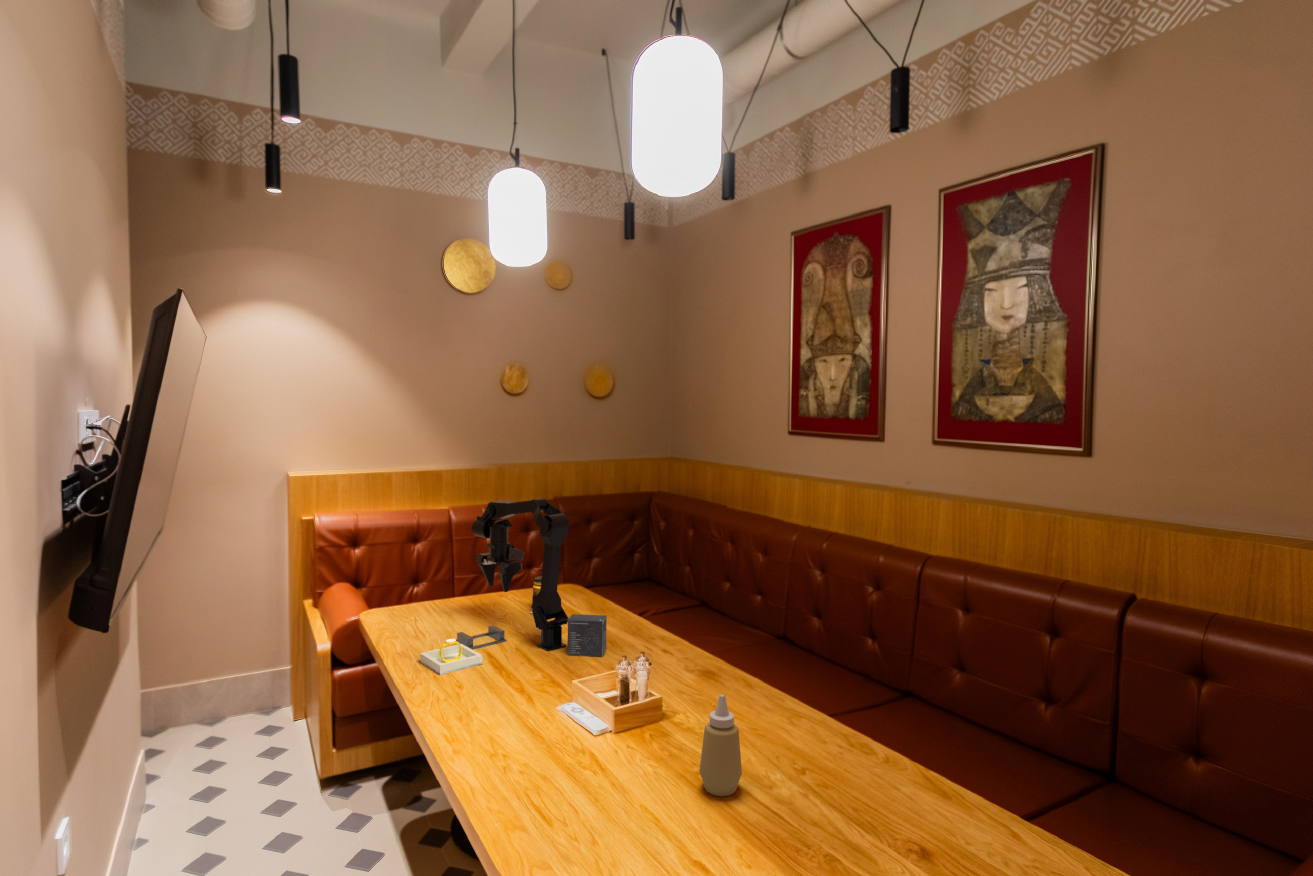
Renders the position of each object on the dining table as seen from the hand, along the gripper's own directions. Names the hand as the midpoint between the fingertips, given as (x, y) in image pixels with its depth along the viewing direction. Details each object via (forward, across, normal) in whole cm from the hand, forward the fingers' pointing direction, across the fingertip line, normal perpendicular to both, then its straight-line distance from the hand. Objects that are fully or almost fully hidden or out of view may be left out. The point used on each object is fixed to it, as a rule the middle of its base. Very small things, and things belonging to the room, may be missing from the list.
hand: (498, 589), depth 229 cm
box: (+13, -35, -9) cm, 39 cm away
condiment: (+13, +8, -22) cm, 27 cm away
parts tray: (+13, -18, +25) cm, 33 cm away
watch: (+13, -18, +25) cm, 33 cm away
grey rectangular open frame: (+13, -7, +10) cm, 18 cm away
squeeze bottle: (+13, -111, +16) cm, 113 cm away
